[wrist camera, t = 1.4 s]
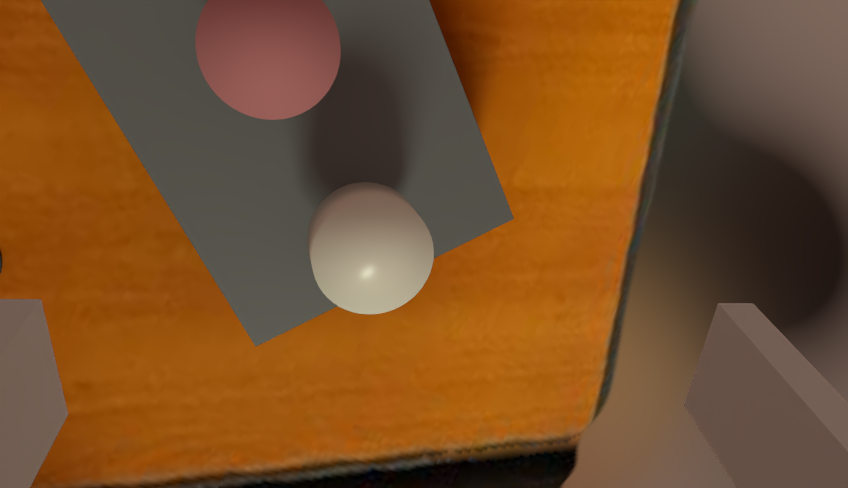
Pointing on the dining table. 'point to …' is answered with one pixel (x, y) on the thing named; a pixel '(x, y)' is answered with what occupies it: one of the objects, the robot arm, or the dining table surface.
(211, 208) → the control box
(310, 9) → the pink knob
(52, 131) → the dining table surface
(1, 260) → the sundae
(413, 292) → the cream knob
